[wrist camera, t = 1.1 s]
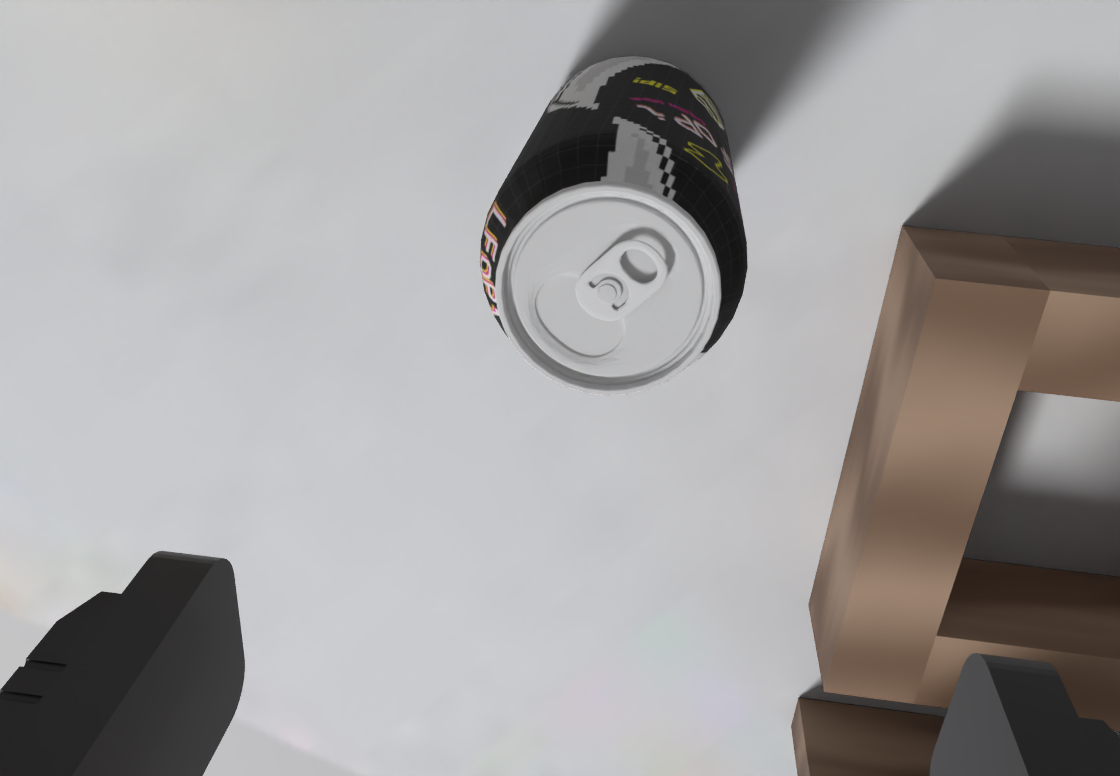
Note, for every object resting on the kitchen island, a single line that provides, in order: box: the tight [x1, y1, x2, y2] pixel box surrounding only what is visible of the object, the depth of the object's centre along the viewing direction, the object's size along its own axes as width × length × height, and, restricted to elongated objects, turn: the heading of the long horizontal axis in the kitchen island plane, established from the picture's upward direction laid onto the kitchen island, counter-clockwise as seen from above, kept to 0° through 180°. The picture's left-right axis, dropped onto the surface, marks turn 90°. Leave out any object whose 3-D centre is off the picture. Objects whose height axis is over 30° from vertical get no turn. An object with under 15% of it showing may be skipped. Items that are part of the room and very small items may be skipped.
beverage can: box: [480, 56, 747, 396], centre depth 25 cm, size 6×6×12 cm
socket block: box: [809, 226, 1120, 731], centre depth 31 cm, size 15×15×4 cm
